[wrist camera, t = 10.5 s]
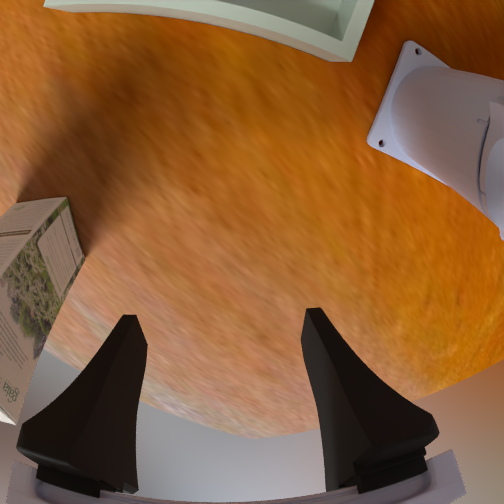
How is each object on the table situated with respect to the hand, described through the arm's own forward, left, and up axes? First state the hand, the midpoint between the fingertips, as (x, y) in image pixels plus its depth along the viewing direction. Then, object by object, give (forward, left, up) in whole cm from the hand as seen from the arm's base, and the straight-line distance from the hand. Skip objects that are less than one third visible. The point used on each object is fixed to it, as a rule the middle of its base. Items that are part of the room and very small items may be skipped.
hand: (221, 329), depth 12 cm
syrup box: (+13, +4, -10) cm, 17 cm away
